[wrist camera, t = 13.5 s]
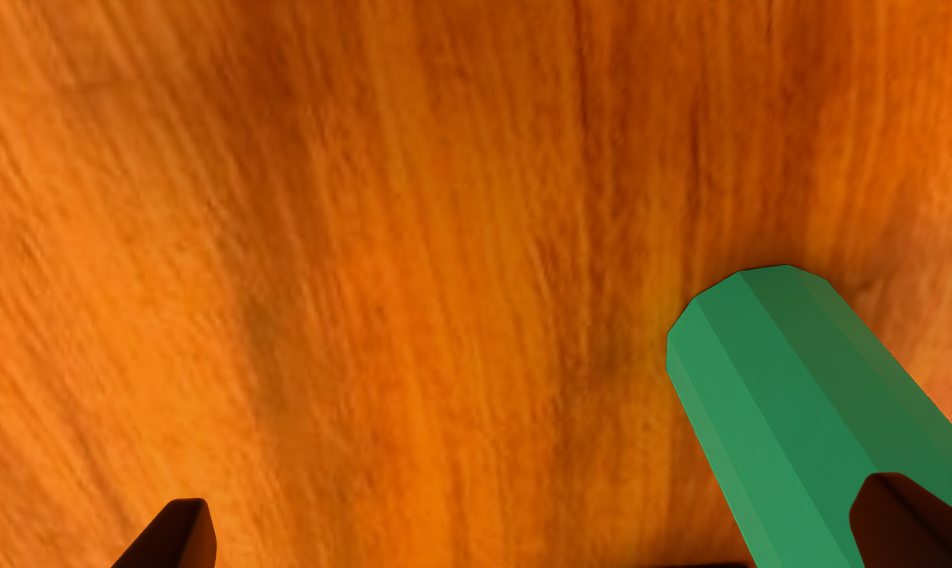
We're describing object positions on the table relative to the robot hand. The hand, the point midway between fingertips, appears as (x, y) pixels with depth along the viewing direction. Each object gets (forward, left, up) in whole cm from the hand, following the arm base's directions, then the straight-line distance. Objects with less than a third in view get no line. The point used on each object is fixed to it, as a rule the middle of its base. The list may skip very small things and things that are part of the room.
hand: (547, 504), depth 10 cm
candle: (-9, +7, -12) cm, 17 cm away
